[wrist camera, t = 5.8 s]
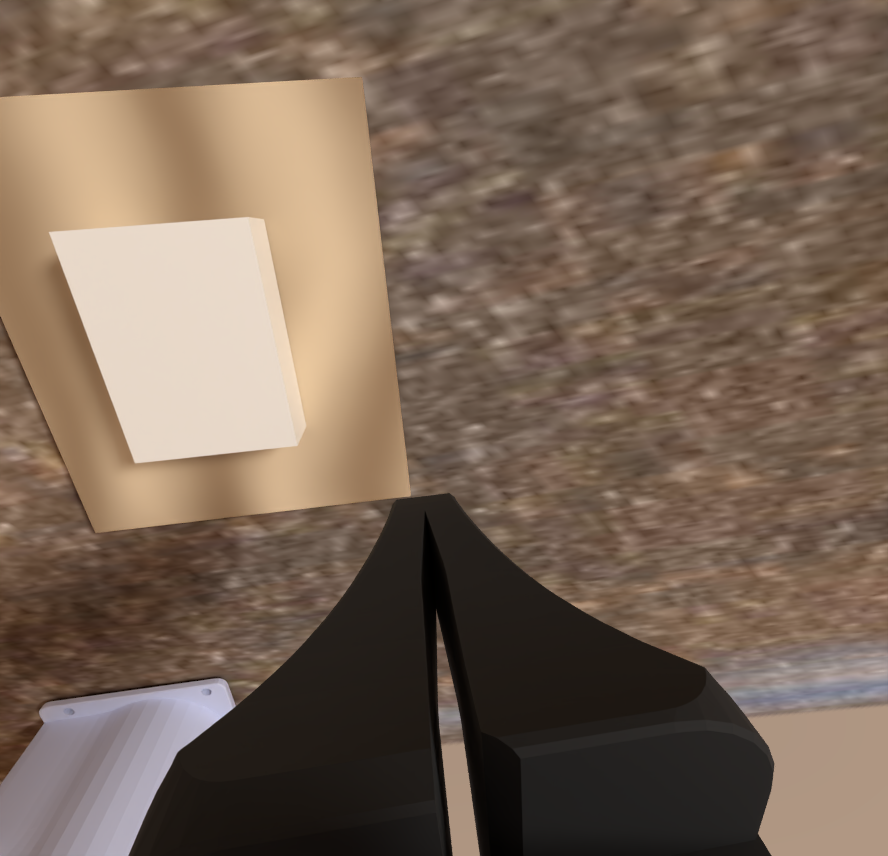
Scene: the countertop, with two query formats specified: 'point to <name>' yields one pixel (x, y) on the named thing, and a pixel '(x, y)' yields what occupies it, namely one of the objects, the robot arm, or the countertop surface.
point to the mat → (195, 199)
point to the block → (187, 335)
